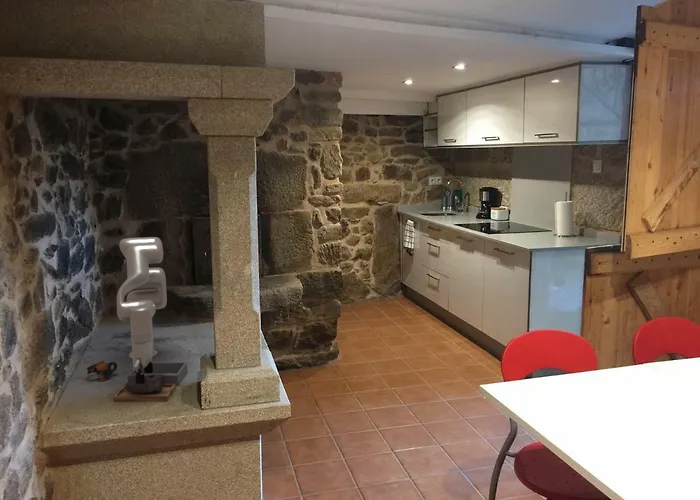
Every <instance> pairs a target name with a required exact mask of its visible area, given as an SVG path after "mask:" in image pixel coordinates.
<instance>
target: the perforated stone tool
mask: <svg viewBox="0 0 700 500" xmlns="http://www.w3.org/2000/svg"><path fill="white" fill-rule="evenodd" d="M146 375H147V376H144V378H145V383H144V384H136V378H134V379H131V380H130V381H127V382H126V383H125V384H126V386H125V388H126V390H127V391H128V392H130V393H151V392H154V391H156V392H158V391H160V390H161V389H162V388H163V386H164V384H165V375H166V374H164V373H157V374H146Z"/></svg>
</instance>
